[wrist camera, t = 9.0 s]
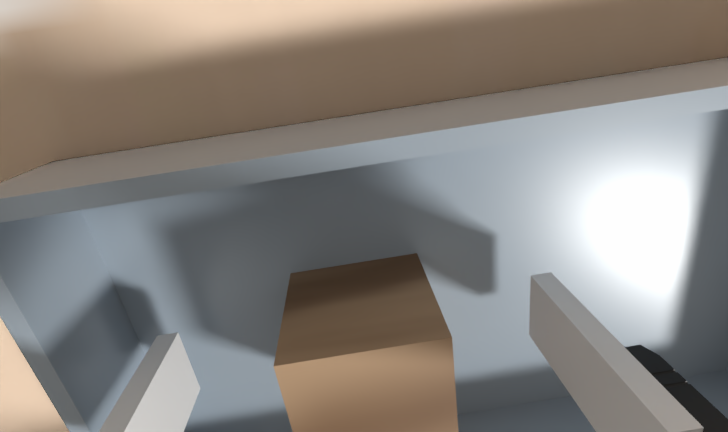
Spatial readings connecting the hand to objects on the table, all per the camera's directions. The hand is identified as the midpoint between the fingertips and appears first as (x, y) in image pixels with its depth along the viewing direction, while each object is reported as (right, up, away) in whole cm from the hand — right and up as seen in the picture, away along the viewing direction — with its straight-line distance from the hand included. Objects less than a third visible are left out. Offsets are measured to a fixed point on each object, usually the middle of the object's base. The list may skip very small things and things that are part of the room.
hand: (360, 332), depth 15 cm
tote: (+4, +1, +2) cm, 5 cm away
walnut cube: (0, 0, +2) cm, 2 cm away
